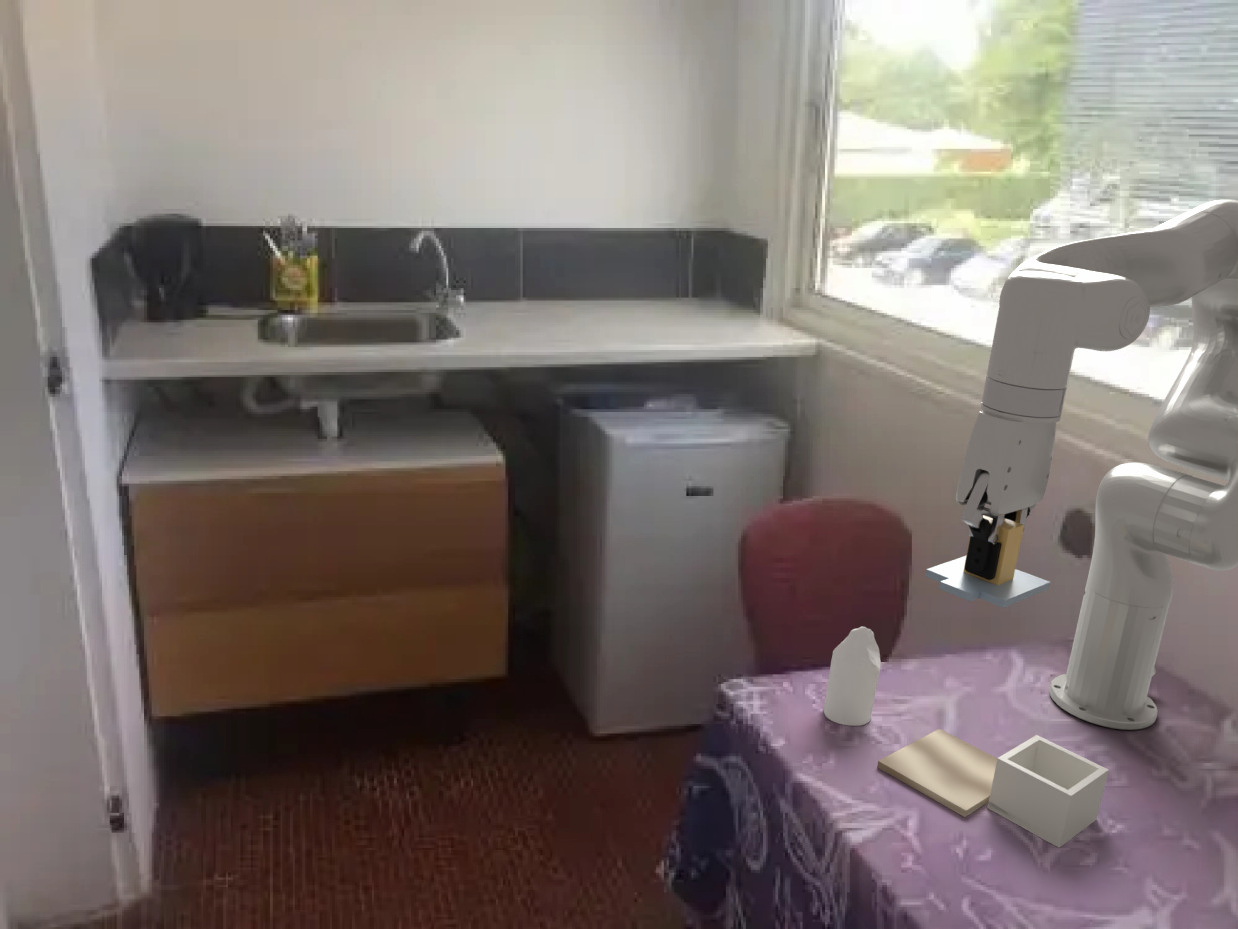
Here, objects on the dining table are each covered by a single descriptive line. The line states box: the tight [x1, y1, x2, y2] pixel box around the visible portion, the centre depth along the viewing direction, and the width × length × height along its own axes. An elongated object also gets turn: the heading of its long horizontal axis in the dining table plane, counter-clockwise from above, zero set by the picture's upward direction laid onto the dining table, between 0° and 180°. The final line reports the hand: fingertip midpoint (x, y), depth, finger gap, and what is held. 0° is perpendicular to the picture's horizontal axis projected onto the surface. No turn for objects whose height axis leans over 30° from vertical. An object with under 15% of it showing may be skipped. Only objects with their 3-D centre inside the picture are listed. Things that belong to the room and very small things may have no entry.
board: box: [876, 728, 999, 818], centre depth 119 cm, size 12×11×1 cm
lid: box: [925, 515, 1051, 609], centre depth 111 cm, size 11×9×7 cm
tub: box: [986, 734, 1109, 848], centre depth 112 cm, size 8×8×6 cm
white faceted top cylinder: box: [823, 626, 882, 727], centre depth 128 cm, size 6×12×6 cm
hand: (989, 570), depth 112 cm, fingers closed on lid, 3 cm apart
